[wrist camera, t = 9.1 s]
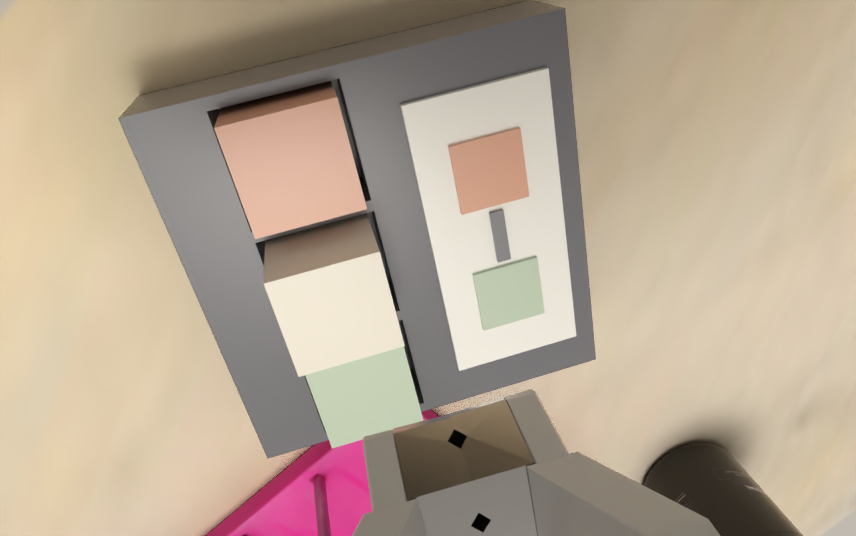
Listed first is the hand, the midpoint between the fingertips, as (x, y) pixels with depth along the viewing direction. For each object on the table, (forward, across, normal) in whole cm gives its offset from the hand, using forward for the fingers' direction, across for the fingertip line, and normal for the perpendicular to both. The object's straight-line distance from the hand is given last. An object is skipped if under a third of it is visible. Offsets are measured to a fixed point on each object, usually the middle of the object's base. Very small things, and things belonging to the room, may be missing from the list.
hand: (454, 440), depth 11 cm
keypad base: (+20, 0, +5) cm, 21 cm away
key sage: (+19, +3, +10) cm, 22 cm away
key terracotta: (+19, +3, -1) cm, 19 cm away
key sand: (+17, +3, +5) cm, 18 cm away
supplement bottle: (+21, -16, +29) cm, 39 cm away
